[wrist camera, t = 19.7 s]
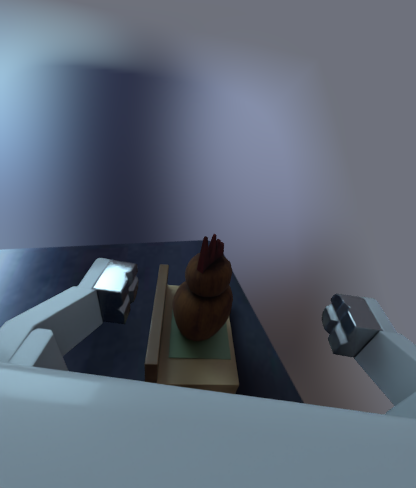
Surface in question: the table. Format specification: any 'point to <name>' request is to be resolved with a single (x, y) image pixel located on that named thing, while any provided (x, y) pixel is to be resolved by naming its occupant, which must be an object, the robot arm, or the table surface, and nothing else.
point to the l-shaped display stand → (187, 350)
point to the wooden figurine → (204, 293)
